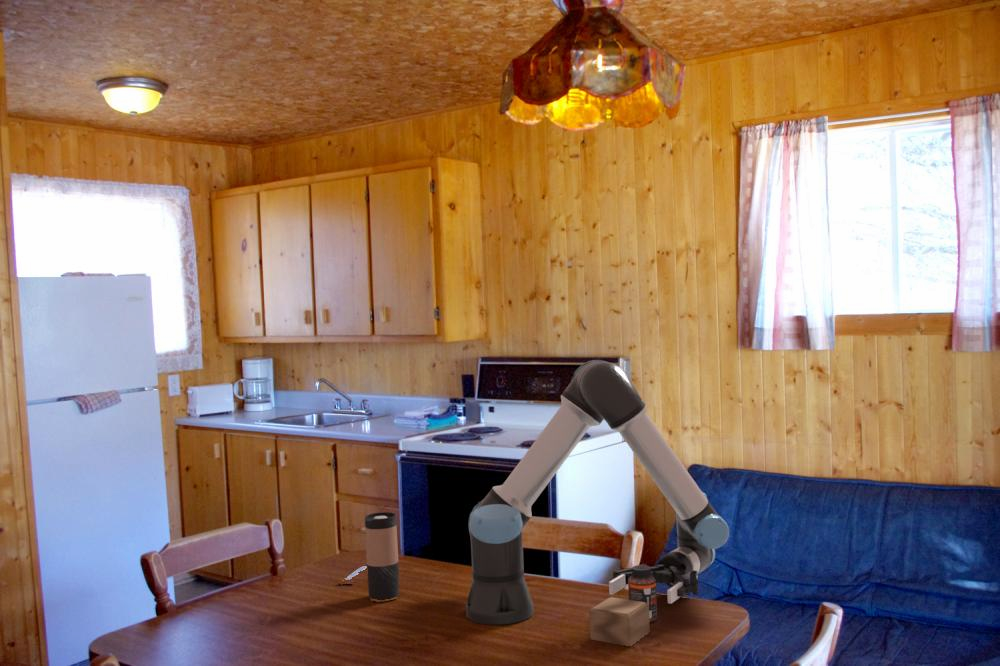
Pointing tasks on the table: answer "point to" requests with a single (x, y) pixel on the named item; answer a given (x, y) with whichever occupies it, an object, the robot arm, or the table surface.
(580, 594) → the table surface
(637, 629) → the light wooden box
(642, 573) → the supplement bottle
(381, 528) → the travel mug
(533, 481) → the robot arm
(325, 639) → the table surface
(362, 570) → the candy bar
